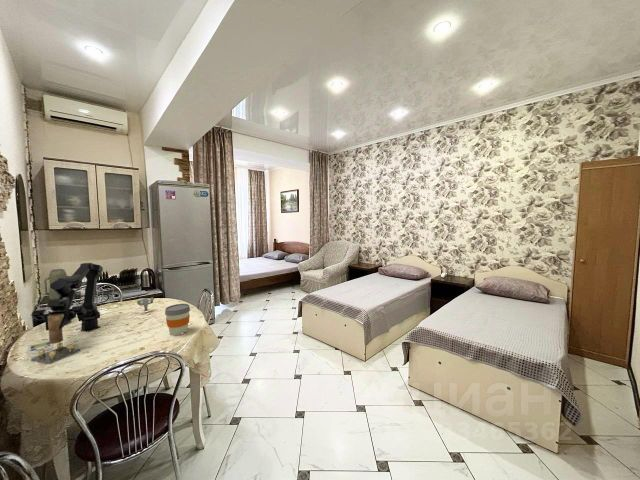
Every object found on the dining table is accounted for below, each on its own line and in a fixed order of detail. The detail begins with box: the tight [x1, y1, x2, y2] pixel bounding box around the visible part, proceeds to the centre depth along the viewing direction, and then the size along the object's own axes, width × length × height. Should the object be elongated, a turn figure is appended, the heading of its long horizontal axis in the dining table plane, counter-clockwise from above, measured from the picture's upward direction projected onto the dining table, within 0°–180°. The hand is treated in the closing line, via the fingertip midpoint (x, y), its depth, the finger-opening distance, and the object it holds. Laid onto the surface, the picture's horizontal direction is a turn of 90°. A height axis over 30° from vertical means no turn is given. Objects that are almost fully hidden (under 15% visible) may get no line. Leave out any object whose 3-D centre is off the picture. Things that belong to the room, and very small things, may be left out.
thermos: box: [43, 268, 72, 326], centre depth 159 cm, size 9×12×35 cm
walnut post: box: [48, 314, 64, 345], centre depth 120 cm, size 4×4×13 cm
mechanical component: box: [136, 297, 155, 312], centre depth 178 cm, size 3×10×10 cm, turn 148°
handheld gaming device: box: [25, 340, 54, 356], centre depth 129 cm, size 9×1×15 cm
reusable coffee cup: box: [164, 303, 191, 336], centre depth 146 cm, size 13×13×15 cm
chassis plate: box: [30, 342, 81, 365], centre depth 121 cm, size 12×12×4 cm
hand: (53, 329), depth 119 cm, fingers closed on walnut post, 4 cm apart
